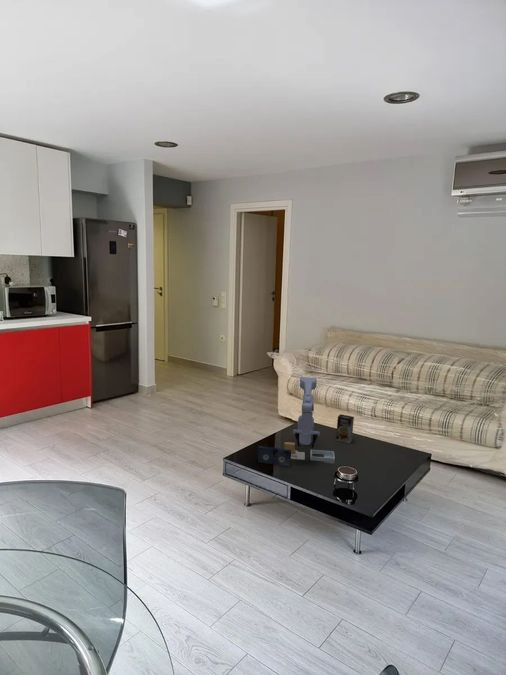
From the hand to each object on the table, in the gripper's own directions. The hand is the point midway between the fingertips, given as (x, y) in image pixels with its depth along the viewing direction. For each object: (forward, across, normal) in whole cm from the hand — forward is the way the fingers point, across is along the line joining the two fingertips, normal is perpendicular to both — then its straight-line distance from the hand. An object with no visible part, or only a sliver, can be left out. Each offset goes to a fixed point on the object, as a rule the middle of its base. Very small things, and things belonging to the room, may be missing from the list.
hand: (305, 446), depth 252 cm
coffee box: (+10, +25, +38) cm, 47 cm away
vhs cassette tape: (+10, -17, -5) cm, 20 cm away
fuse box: (+10, -9, +8) cm, 16 cm away
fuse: (+9, -9, +8) cm, 15 cm away
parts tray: (+10, +10, +8) cm, 16 cm away
